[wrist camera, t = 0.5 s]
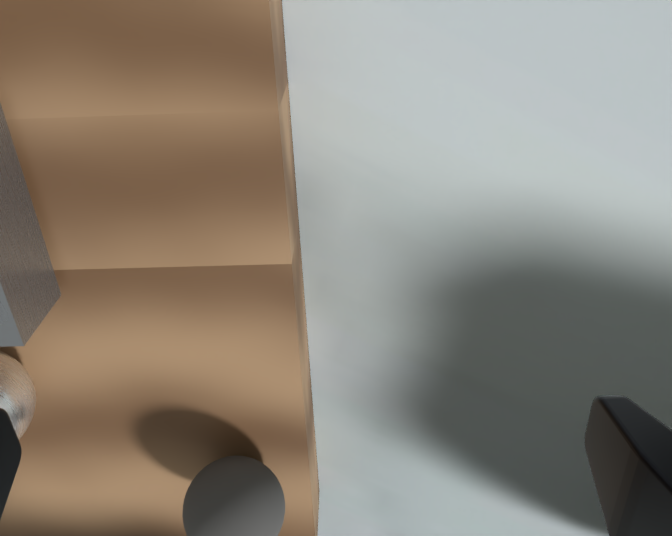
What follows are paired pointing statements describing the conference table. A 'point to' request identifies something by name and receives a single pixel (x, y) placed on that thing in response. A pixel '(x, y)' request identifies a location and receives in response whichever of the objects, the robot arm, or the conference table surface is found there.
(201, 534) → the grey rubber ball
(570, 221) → the conference table surface
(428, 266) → the conference table surface
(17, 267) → the brushed grey metal box
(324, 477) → the conference table surface
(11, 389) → the steel ball
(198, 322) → the walnut deck
